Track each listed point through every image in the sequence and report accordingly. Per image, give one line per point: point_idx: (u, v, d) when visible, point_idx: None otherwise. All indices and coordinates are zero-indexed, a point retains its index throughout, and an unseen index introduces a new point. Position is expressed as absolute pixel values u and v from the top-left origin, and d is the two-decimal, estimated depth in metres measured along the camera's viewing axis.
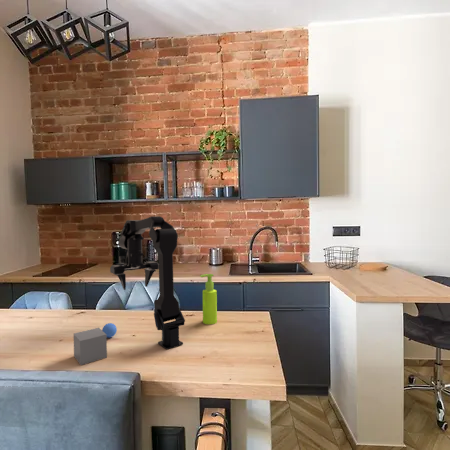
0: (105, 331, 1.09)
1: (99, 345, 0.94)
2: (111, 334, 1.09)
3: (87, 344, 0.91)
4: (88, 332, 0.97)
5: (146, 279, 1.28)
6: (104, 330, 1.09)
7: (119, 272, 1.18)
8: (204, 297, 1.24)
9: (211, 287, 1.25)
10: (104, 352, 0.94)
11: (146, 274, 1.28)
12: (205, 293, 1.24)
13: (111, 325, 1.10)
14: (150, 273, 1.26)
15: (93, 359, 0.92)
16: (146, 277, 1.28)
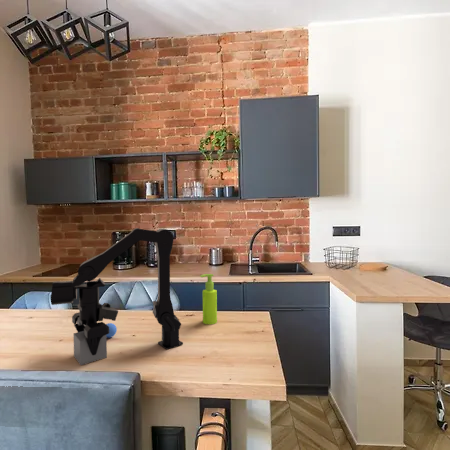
0: None
1: (99, 345, 0.94)
2: (111, 334, 1.09)
3: None
4: None
5: None
6: None
7: (73, 321, 0.99)
8: (204, 297, 1.24)
9: (211, 287, 1.25)
10: (104, 352, 0.94)
11: None
12: (205, 293, 1.24)
13: (111, 325, 1.10)
14: (85, 339, 0.90)
15: (93, 359, 0.92)
16: None
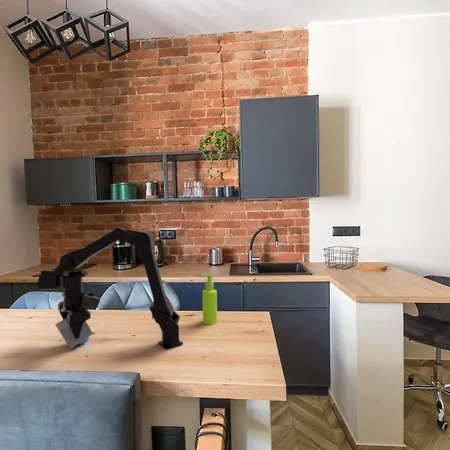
0: None
1: None
2: None
3: (68, 330, 0.99)
4: (67, 319, 1.04)
5: None
6: None
7: (58, 308, 1.07)
8: (204, 297, 1.24)
9: (211, 287, 1.25)
10: (88, 330, 1.03)
11: None
12: (205, 293, 1.24)
13: (85, 342, 1.05)
14: (68, 323, 0.98)
15: (80, 340, 1.01)
16: None
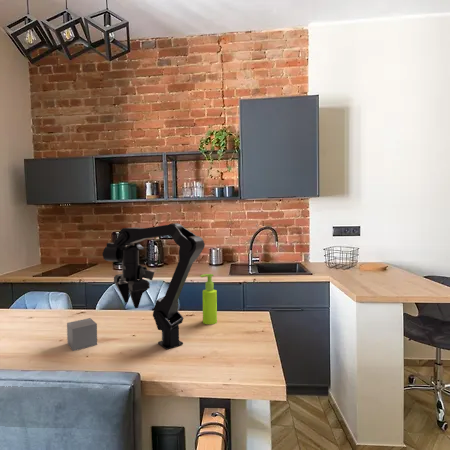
0: None
1: (90, 333, 1.03)
2: None
3: (79, 332, 1.01)
4: (80, 322, 1.06)
5: None
6: None
7: (115, 281, 1.14)
8: (204, 297, 1.24)
9: (211, 287, 1.25)
10: (94, 339, 1.04)
11: None
12: (205, 293, 1.24)
13: None
14: (130, 293, 1.04)
15: (84, 346, 1.02)
16: None
